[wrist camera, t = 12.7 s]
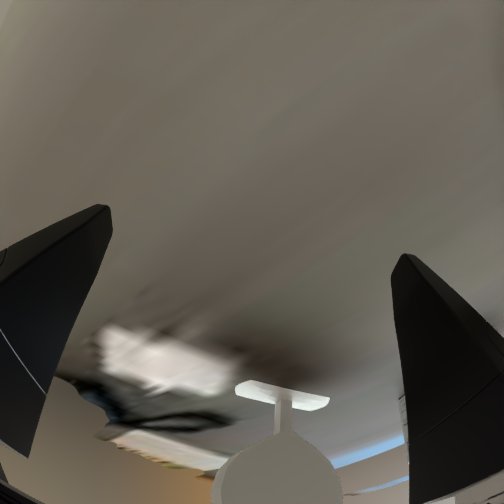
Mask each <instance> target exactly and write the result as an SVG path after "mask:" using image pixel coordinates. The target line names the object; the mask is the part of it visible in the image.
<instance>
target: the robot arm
mask: <svg viewBox="0 0 504 504" xmlns="http://www.w3.org/2000/svg"><path fill="white" fill-rule="evenodd" d="M112 232H113V227H112V218H111V210H110V207H109V206H108V205H101V204H96V205H93V206H91V207H89V208H87V209H84V210H82V211H80V212H78V213H76V214H73V215H71V216H69V217H67V218H65V219H63V220H61V221H59V222H56V223H54V224H52V225H50V226H48V227H46V228H44V229H42V230H40V231H38V232H36V233H34V234H32V235H30V236H28V237H26V238H24V239H22V240H21V241H19V242H17V243H15V244H13V245H11V246H9V247H8V248H5V249H4V250H2V251H0V444H2V445H3V446H5V447H7V448H8V449H10V450H12V451H14V452H16V453H17V454H19V455H21V456H23V457H25V458H27V459H28V457H29V454H30V451H31V446H32V443H33V439H34V435H35V432H36V429H37V425H38V422H39V418H40V415H41V412H42V409H43V406H44V403H45V400H46V395H47V393H48V390H49V387H50V385H51V382H52V379H53V376H54V373H55V371H56V368H57V365H58V363H59V360H60V357H61V355H62V352H63V350H64V347H65V345H66V342H67V340H68V337H69V335H70V333H71V330H72V328H73V326H74V323H75V321H76V319H77V316H78V314H79V312H80V310H81V307H82V305H83V303H84V301H85V299H86V297H87V294H88V292H89V290H90V288H91V286H92V284H93V282H94V280H95V278H96V275H97V273H98V270H99V268H100V265H101V262H102V260H103V257H104V254H105V252H106V249H107V247H108V244H109V241H110V239H111V236H112ZM391 288H392V299H393V311H394V322H395V328H396V334H397V340H398V347H399V353H400V360H401V368H402V376H403V384H404V393H405V403H406V414H407V427H408V444H409V446H408V448H409V504H429V503H432V502H436V501H440V500H443V499H447V498H450V497H453V496H455V504H504V338H503V337H502V336H501V335H500V334H499V333H498V332H497V331H496V330H495V329H494V328H493V327H492V326H491V325H490V324H489V323H488V322H486V320H485V319H484V318H483V317H482V316H481V315H480V314H479V313H478V312H477V311H476V310H475V309H474V308H473V307H472V306H471V305H470V304H469V303H467V302H466V301H465V300H464V299H463V298H462V297H461V296H460V295H459V294H458V293H457V292H456V291H455V290H454V289H452V288H451V287H450V286H449V285H448V284H447V283H446V282H445V281H444V280H443V279H441V278H440V277H439V276H438V275H437V274H436V273H435V272H434V271H432V270H431V269H430V268H429V267H428V266H427V265H426V264H424V263H423V262H422V261H421V260H420V259H419V258H417V257H416V256H415V255H412V254H406V253H404V254H402V255H401V256H400V258H399V260H398V262H397V264H396V266H395V268H394V270H393V272H392V274H391ZM0 504H45V503H42V502H41V501H39V500H37V499H35V498H33V497H31V496H29V495H27V494H25V493H23V492H22V491H20V490H18V489H16V488H15V487H13V486H11V485H10V484H9V483H8V481H7V479H6V476H5V474H4V471H3V469H2V466H1V463H0Z"/></svg>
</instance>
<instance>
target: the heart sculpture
mask: <svg viewBox="0 0 504 504" xmlns="http://www.w3.org/2000/svg"><path fill="white" fill-rule="evenodd" d="M235 392H236V395H239V396H242V397H246V398H251V399H255V400H259V401H263V402H268V403H272V404H275V419H274V435H272V436H270V437H267V438H265V439H262V440H260V441H258V442H256V443H255V444H253V445H251V446H249V447H248V448H246V449H244V450H242V451H240V452H239V453H237V454H235V455H233V456H231V457H230V458H229V459H228V461H227V462H226V463H225V464H224V465H223V466H222V467H221V468H220V469H219V470H218V471H217V473H216V476H215V480H214V483H213V486H212V489H211V504H342V501H343V493H342V487H341V481H340V477H339V476H338V474H337V472H336V471H335V469H334V467H333V466H332V464H331V462H330V461H329V460H328V459H327V458H326V457H325V456H324V455H323V454H322V453H321V452H320V451H319V450H317V449H316V448H315V447H314V446H313V445H311V444H310V443H308V442H307V441H306V440H304V439H303V438H302V437H300V436H299V435H298V434H297V433H296V432H294V431H293V430H292V408H296V409H302V410H307V411H312V410H316V409H319V408H322V407H324V406H326V405H327V404H328V402H329V399H330V398H329V397H324V396H319V395H314V394H309V393H304V392H300V391H295V390H291V389H286V388H282V387H278V386H274V385H270V384H266V383H262V382H258V381H254V380H249V381H246V382H243V383H240V384H238V385H237V386H236V388H235Z"/></svg>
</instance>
